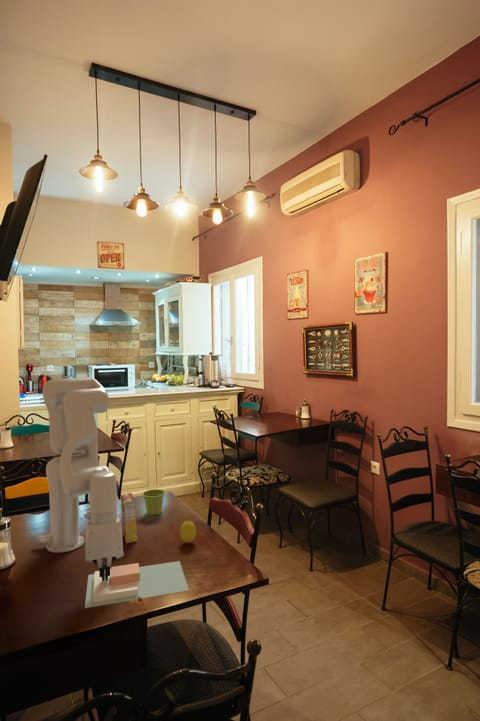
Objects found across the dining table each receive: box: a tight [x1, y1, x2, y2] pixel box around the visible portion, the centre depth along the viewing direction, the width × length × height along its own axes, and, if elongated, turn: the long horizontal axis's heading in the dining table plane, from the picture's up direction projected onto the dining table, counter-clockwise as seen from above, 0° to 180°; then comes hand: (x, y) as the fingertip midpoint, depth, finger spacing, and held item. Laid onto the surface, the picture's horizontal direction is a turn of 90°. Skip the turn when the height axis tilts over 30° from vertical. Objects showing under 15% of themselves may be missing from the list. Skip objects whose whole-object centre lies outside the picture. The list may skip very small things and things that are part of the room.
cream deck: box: [93, 568, 138, 602], centre depth 127 cm, size 12×14×2 cm
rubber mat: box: [84, 560, 190, 609], centre depth 128 cm, size 28×18×1 cm, turn 106°
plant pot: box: [142, 488, 166, 516], centre depth 184 cm, size 9×9×9 cm
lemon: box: [179, 520, 197, 544], centre depth 155 cm, size 6×6×8 cm
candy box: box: [120, 492, 138, 544], centre depth 159 cm, size 9×4×15 cm, turn 23°
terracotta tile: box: [110, 562, 140, 586], centre depth 127 cm, size 8×6×2 cm
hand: (105, 578), depth 126 cm, fingers closed
